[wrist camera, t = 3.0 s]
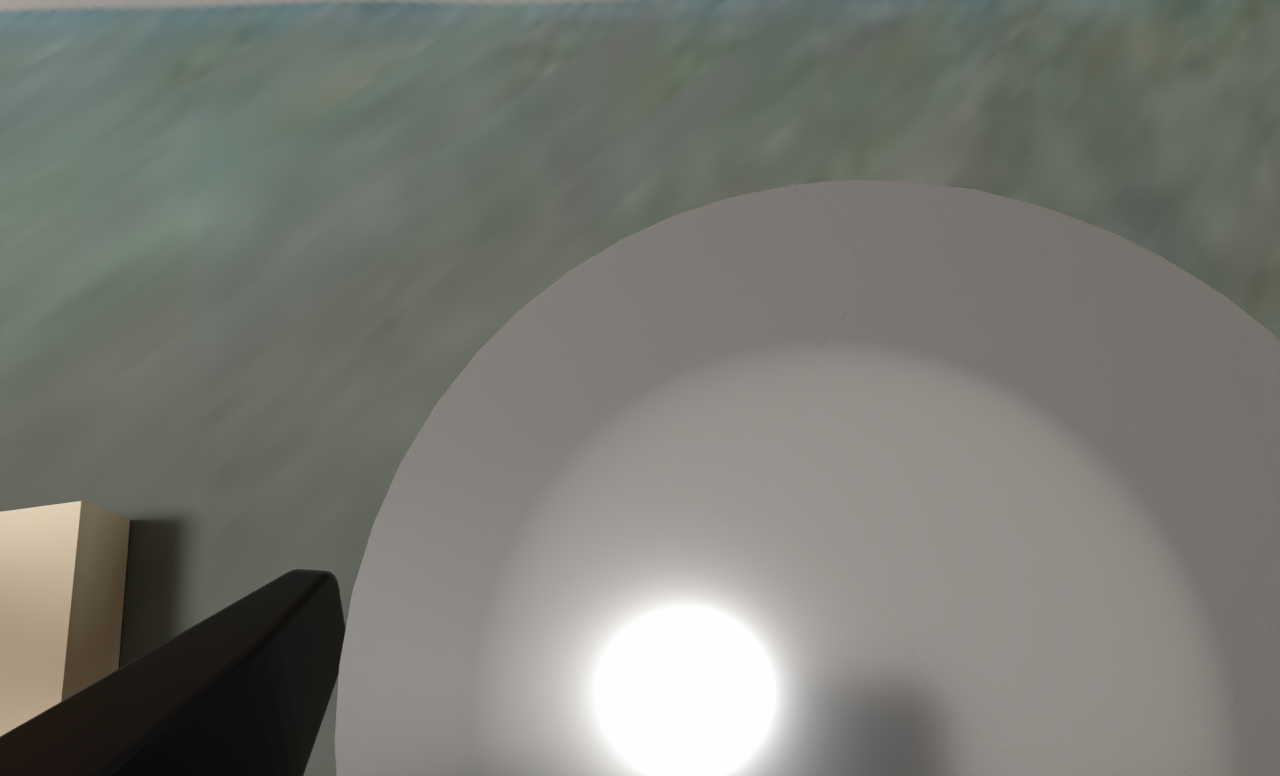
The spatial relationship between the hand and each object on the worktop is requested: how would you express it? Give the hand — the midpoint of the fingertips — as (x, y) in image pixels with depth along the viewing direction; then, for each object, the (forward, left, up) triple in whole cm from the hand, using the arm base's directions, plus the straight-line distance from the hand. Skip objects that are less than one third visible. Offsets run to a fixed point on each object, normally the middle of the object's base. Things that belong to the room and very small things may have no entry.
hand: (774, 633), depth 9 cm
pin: (-1, 0, -7) cm, 7 cm away
